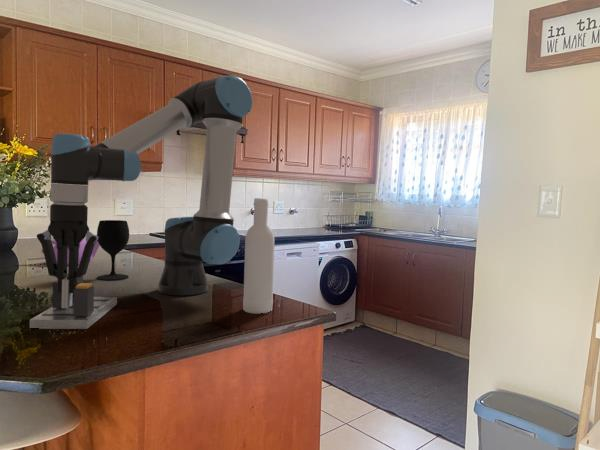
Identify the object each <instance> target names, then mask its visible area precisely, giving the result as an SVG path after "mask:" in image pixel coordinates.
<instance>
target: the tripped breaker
mask: <svg viewBox="0 0 600 450" xmlns="http://www.w3.org/2000/svg"><path fill="white" fill-rule="evenodd" d="M94 290H95V286H94V284H93V283H92V282H83V283H80V284H78V285H77V286H76V288H74V316H88V315H90V314H91V313H92V312H94V297H95V291H94Z"/></svg>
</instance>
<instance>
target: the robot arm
mask: <svg viewBox="0 0 600 450" xmlns="http://www.w3.org/2000/svg"><path fill="white" fill-rule="evenodd" d="M253 100H254V99H253V94H252V91H251V89H250V87H248V84H247V83H246V81H245V80H243V78H241V77H239V76H237V75H234V74H233V75H232V74H231V75H230V74H229V75H221V76H219V77H216V78H215V77H214V78H212V79H207V80H201V81H199V82H196V83H195V84H194V83H193V84H192V85H191V86H190V87H188V88H186V89H184V90H183V91H181V92H180V93H178V94H177V95H175V96H173V97H171V98H170V99H169V100H168V102H167V105H165V106H163V107H161V108H159V109H158V110H156V111H154V112H152V113H151V114H148V115H147V116H145V117H143V118H142V119H140V120H138V121H136V122H135V123H133V124H131V125H130V126H128V127H125V128H124V129H122V130H120V131H119V132H117V133H115V134H113V135H112V136H110V137H108V138H106V139H104V140H102V141H101V142H99V143H98V144H96V145H91V143H90V138H89V137H88V136H85V135H81V134H77V133H75V134H74V133H62V132H61V133H56V134H54V136H53V137H52V141H51V151H50V170H51V171H50V177H51V178H50V198H49V199H50V201H51V202H52V204H51V205H50V206H49V221H50V223H49V225H48V227H47V229H46V230H45V231H43V232H40V233H37V234H36V238H37V240H38V242H40V244H41V247H42V249H43V252H44V254H43V255H44V259H45V263H46V268H47V273H48V276H51V277H54V278H56V279H57V280H58V292H59V293H62V307H61V308H69V307H70V306H72V295H73V293H74V288H76V286H77V278H78V277H81V276H83V277H84V276H85V275H87V271H88V267H89V265H90V263H91V262H90V258H91V255H92V251H93V248H94V245H95V244H96V242H97V241H98V240H99V236H98V235H97V234H94V233H92V232H91V231H90V227H89V225H88V216H89V215H88V214H89V213H88V210H89V208H88V207H89V206H87V204H86V203H88V200H89V199H88V198H89V181H118V182H119V181H121V182H135V180H137V179H138V177H139V176H140V174H141V170H142V164H141V163H142V161H141V158H140V156H139V155H140V154H141V153H142V152H144V151H146V150H147V149H149V148H151V147H153V146H154V145H156V144H157V143H159V142H160V141H162V140H164V139H166V138H167V137H169V136H170V135H172V134H175V132H177V131H178V130H180V129H182V128H184V129H188V128H190V127H192V126H193V125H197V124H198V123H203V125H204V126H205V127H206V134H205V136H206V137H205V146H204V155H203V166H202V178H201V188H200V196H199V197H200V200H199V209H198V211H196V212H195V213H194V214H193V216H182V217H181V216H179V217H170V218H168V219H167V220H166V221H165V226H164V267H163V270H162V271H161V272H162V273H161V275H160V279H159V282H158V291H157V292H158V293H160V294H163V295H168V296H193V295H200V294H204V293H206V292H208V290H209V281H208V279H207V275H206V271H205V269H204V263H206V264H209V265H223V264H225V263H228V262H230V261H231V260H232V258H234V257H235V256H236V254H237V252H238V250H239V247H240V244H241V238H240V234H239V232H238V229H236V227H234V220H235V219H234V217H233V216H232V215H231V213H230V207H231V195H232V185H233V173H234V162H235V151H236V140H237V132H238V131H239V130H240V129H242V127H243V124H244V123H243V122H244V117H245V116H247V115H248V114H249V113H250V112H251V110H252V109H253V102H254V101H253ZM52 238H53V240H55V241H56V242H57V261H56V257H55V253H54V249H53V248H54V246H53V245H54V244H52V241H51V240H52ZM83 239H85V240H86V242H87V243H86V245H85V247H84V251H83V254H82V257H81V261H80V264H79V265H78V259H79V247H80V242H81V241H82V240H83ZM68 249H69V266H67V251H68ZM89 262H90V263H89ZM66 276H68V277H67V278H66Z"/></svg>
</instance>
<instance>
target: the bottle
mask: <svg viewBox="0 0 600 450" xmlns="http://www.w3.org/2000/svg"><path fill="white" fill-rule="evenodd" d="M268 209H269V200H268V198H262V197H261V198H257V197H256V198H254V200H253V225H252V226H250V227H249V228H248V229H247V232H246V234H245V237H244V239H245V240H244V268H243V269H244V271H243V273H244V274H243V277H244V278H243V298H242V299H243V300H242V304H243V306H242V307H243V308H242V309H243V311H244V312H245V313H249V314H254V315H255V314H257V315H259V314H260V315H262V314H261V313H263V314H268V312H269V313H271V312H272V311H273V304H274V298H273V297H274V296H273V295H274V273H275V271H274V264H275V239H276V238H275V236H274V235H275V234H274V231H273V229H272V228H271V227H270V226H269V225H268V213H269V212H268ZM270 311H271V312H270Z"/></svg>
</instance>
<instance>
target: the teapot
mask: <svg viewBox="0 0 600 450" xmlns="http://www.w3.org/2000/svg"><path fill="white" fill-rule="evenodd" d="M51 241H52V244H53V245H54V246H53V249H54V253H55V257H56V261H57V242H56V241H55V240H54V239H51ZM86 243H87V242H86V238H84V239H83V240H82V241H81V242H80V247H79V259H78V266H79V264H80V261H81V257H82V254H83V251H84V247H85V245H86ZM99 247H100V245H99V243H98V241H97V242H96V244H95V245H94V248H93V251H92V255H91V258H90V262H89V264H90V263H91V261H92V260H93V259H94V257H95V256H96V253H97V252H98V249H99ZM41 253H42V254H43V255H44V252H43V248H42V249H41ZM67 267H69V249H68V251H67Z"/></svg>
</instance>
